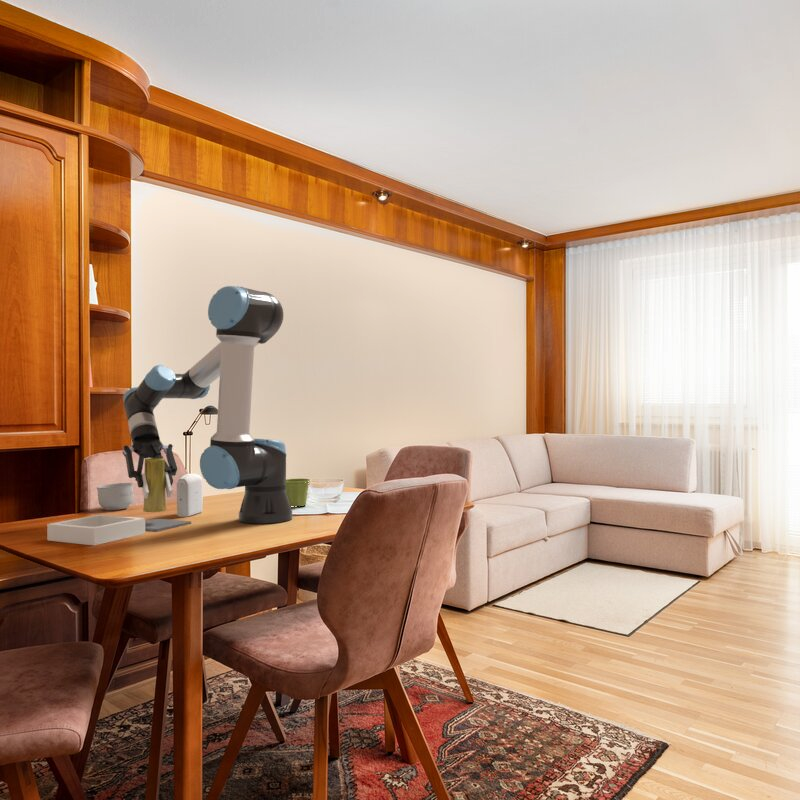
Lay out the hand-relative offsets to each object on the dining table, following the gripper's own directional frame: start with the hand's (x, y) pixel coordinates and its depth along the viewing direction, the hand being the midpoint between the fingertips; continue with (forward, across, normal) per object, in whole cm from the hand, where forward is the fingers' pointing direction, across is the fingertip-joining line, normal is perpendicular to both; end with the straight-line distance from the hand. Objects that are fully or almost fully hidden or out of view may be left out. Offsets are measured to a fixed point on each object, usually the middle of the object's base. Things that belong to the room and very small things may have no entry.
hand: (158, 494), depth 185 cm
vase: (+1, 0, -6) cm, 6 cm away
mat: (+4, 0, -9) cm, 10 cm away
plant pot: (-3, -47, -16) cm, 50 cm away
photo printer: (-6, -14, -19) cm, 24 cm away
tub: (+10, +16, -3) cm, 19 cm away
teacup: (-25, +2, -38) cm, 45 cm away
